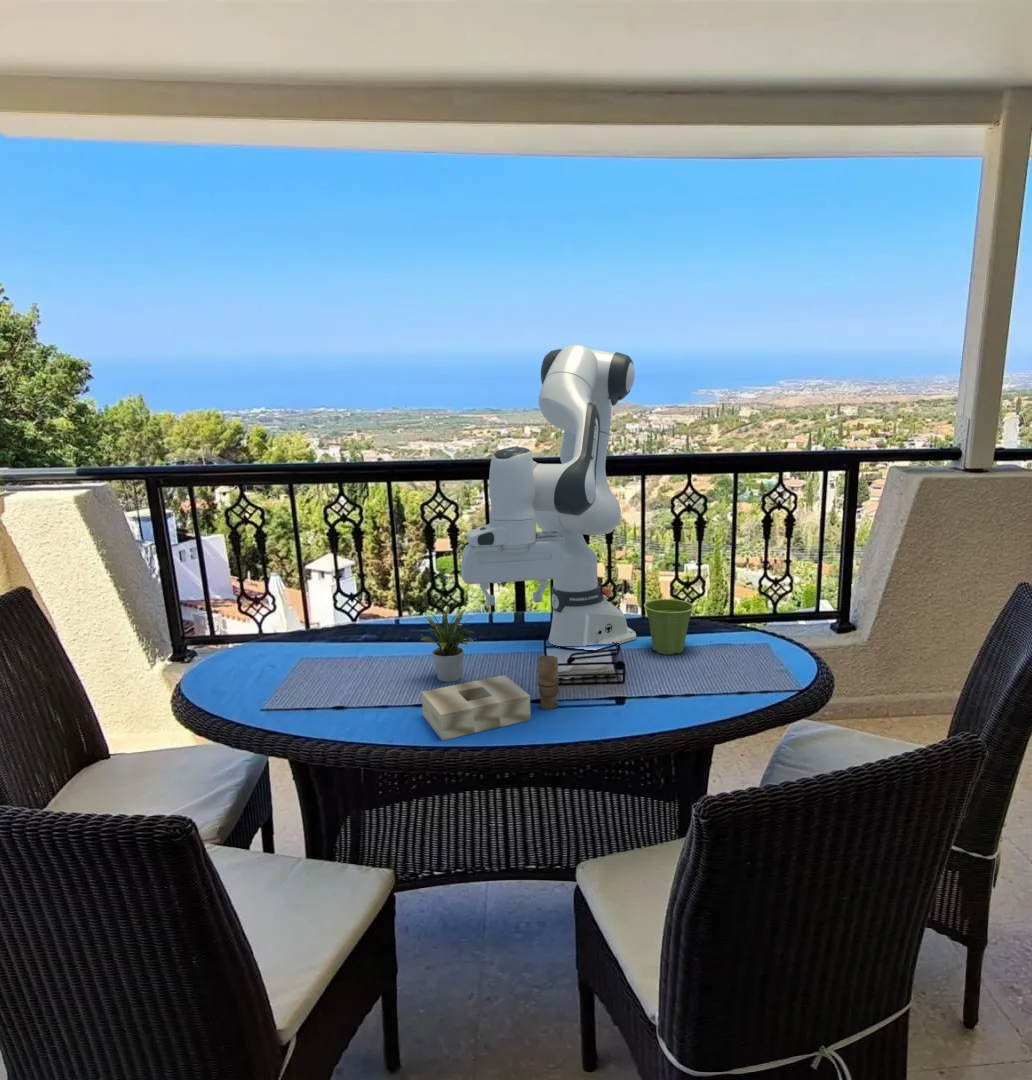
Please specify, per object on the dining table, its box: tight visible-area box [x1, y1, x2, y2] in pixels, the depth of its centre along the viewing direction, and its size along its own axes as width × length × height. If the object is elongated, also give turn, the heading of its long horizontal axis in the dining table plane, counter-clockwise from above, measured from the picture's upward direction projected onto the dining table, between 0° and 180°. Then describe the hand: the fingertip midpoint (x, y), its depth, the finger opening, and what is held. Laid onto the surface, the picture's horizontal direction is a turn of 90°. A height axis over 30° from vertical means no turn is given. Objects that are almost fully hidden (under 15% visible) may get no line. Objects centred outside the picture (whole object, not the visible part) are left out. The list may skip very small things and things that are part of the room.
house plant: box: [415, 607, 476, 683], centre depth 161 cm, size 14×14×16 cm
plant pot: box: [643, 598, 695, 656], centre depth 175 cm, size 12×12×11 cm
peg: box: [537, 655, 560, 711], centre depth 146 cm, size 4×4×10 cm
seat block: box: [421, 674, 531, 741], centre depth 142 cm, size 18×12×5 cm, turn 114°
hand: (514, 603), depth 142 cm, fingers open, 8 cm apart
